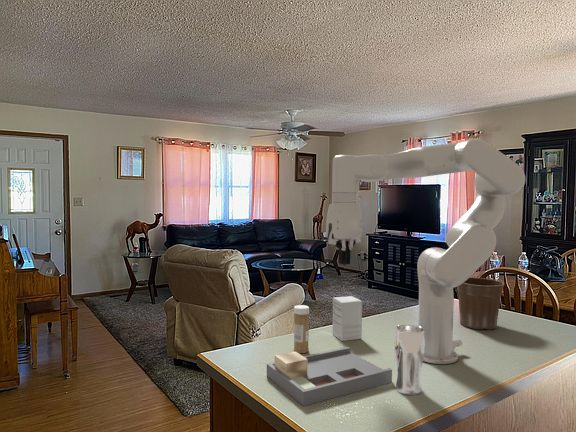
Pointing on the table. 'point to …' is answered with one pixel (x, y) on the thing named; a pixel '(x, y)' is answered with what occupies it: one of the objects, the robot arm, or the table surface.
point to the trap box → (330, 376)
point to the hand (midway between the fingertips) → (344, 263)
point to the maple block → (291, 364)
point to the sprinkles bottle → (301, 328)
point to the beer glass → (409, 358)
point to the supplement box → (347, 318)
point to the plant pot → (479, 302)
